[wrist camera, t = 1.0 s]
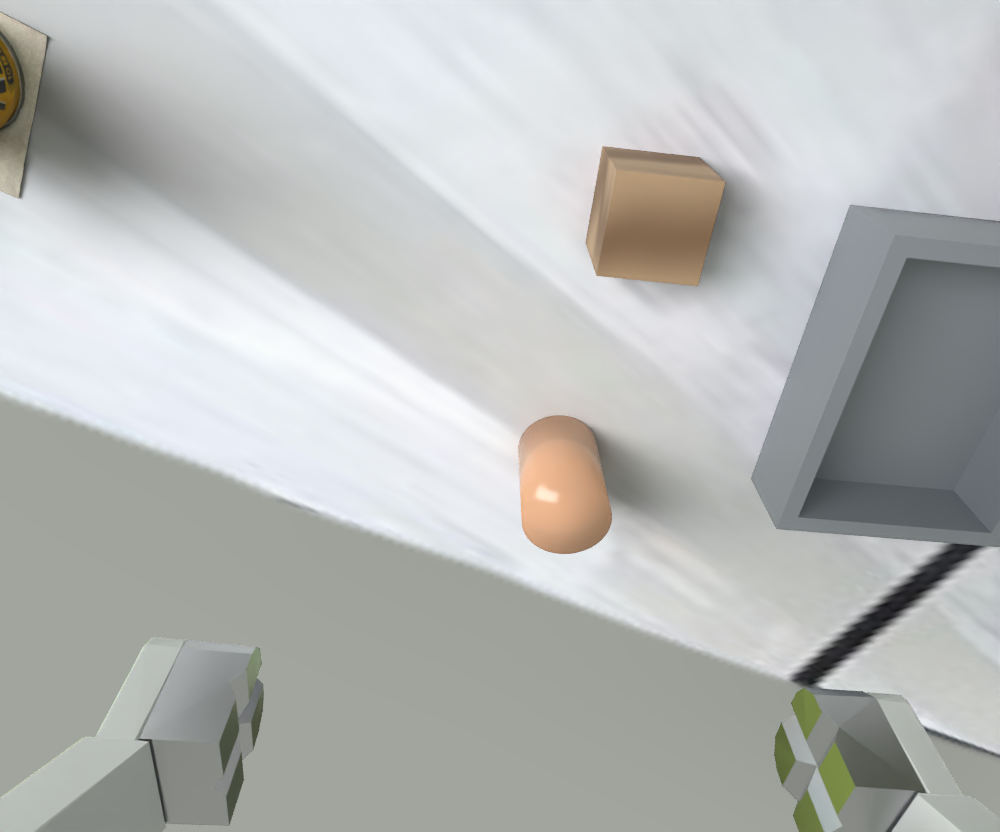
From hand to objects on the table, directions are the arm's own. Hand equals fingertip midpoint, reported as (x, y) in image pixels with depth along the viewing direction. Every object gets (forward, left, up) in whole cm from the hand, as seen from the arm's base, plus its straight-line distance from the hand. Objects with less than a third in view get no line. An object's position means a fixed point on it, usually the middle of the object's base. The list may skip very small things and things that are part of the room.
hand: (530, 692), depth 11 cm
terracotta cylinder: (+16, +5, -31) cm, 36 cm away
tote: (+8, +25, -31) cm, 41 cm away
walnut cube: (0, +7, -31) cm, 32 cm away
